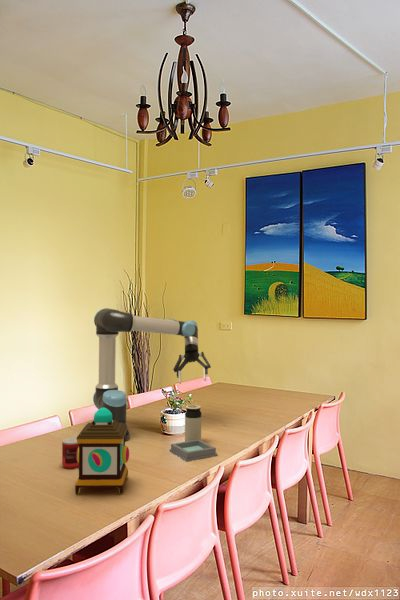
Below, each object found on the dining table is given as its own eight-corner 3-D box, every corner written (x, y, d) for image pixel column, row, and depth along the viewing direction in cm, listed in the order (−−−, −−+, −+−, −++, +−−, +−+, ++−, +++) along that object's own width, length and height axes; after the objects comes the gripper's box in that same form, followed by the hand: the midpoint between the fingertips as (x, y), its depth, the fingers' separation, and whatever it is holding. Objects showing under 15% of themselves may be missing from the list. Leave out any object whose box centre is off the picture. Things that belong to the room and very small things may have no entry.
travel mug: (187, 446, 243) (187, 408, 242) (183, 441, 250) (183, 405, 250) (203, 444, 245) (203, 407, 244) (198, 440, 253) (199, 404, 252)
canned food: (73, 461, 219) (73, 436, 219) (84, 465, 214) (85, 440, 214) (58, 466, 213) (58, 440, 213) (69, 470, 208) (69, 444, 208)
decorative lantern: (131, 476, 203) (132, 401, 202) (126, 496, 183) (126, 414, 183) (81, 476, 202) (81, 401, 202) (70, 496, 182) (70, 414, 182)
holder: (186, 461, 221) (186, 453, 220) (169, 451, 234) (169, 443, 234) (217, 455, 229) (217, 448, 229) (199, 446, 242) (199, 439, 242)
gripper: (214, 346, 282) (216, 381, 270) (171, 352, 286) (171, 387, 273) (212, 340, 276) (214, 375, 264) (167, 346, 280) (167, 381, 267)
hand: (192, 381), depth 268 cm, fingers open, 13 cm apart
